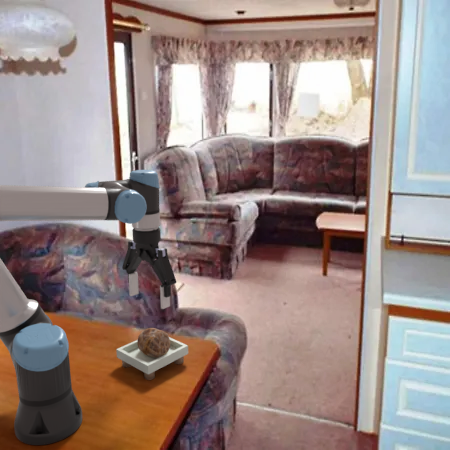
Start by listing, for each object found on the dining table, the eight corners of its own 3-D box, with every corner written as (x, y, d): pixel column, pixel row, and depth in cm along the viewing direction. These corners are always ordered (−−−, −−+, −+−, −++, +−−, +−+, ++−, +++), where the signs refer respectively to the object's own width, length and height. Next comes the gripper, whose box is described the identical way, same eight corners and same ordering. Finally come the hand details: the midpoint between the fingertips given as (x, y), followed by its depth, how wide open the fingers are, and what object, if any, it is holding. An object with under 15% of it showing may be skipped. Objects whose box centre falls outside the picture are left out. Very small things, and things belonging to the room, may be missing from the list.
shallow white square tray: (148, 382, 136) (147, 365, 134) (117, 365, 145) (116, 349, 143) (188, 361, 146) (188, 345, 145) (157, 346, 155) (156, 331, 154)
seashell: (182, 345, 147) (169, 325, 141) (165, 371, 142) (151, 351, 136) (156, 336, 153) (142, 316, 147) (138, 360, 148) (124, 341, 142)
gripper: (188, 232, 130) (189, 308, 135) (128, 218, 146) (132, 286, 151) (166, 238, 125) (169, 317, 130) (107, 222, 141) (111, 293, 146)
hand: (149, 300), depth 141 cm, fingers open, 13 cm apart
